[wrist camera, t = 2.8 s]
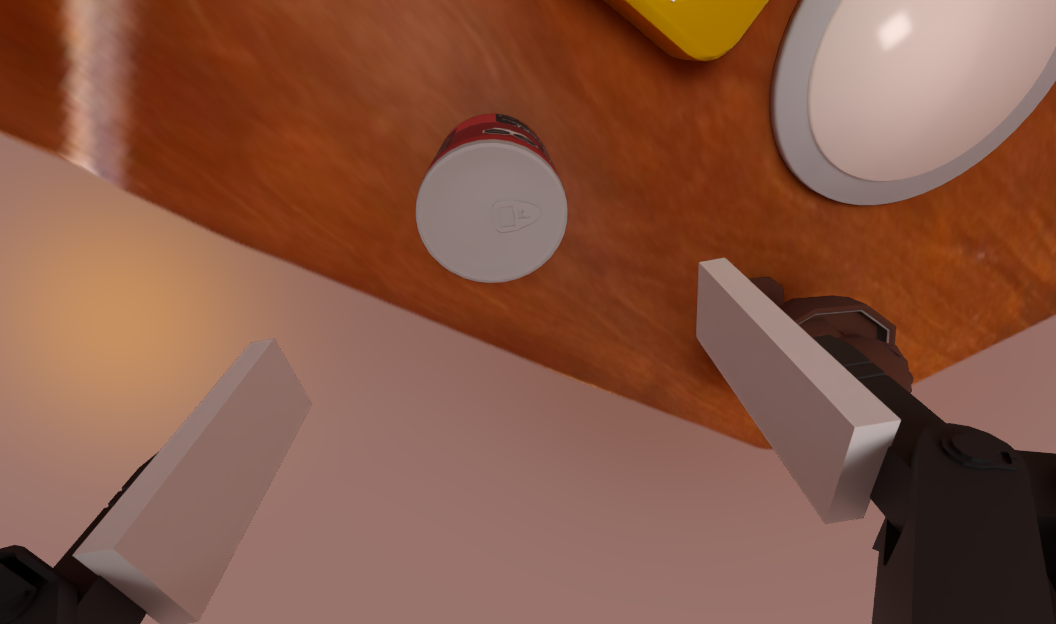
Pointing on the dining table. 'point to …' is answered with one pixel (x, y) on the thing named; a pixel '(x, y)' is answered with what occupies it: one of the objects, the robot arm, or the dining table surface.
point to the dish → (905, 90)
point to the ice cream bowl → (845, 326)
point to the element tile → (691, 24)
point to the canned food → (491, 201)
